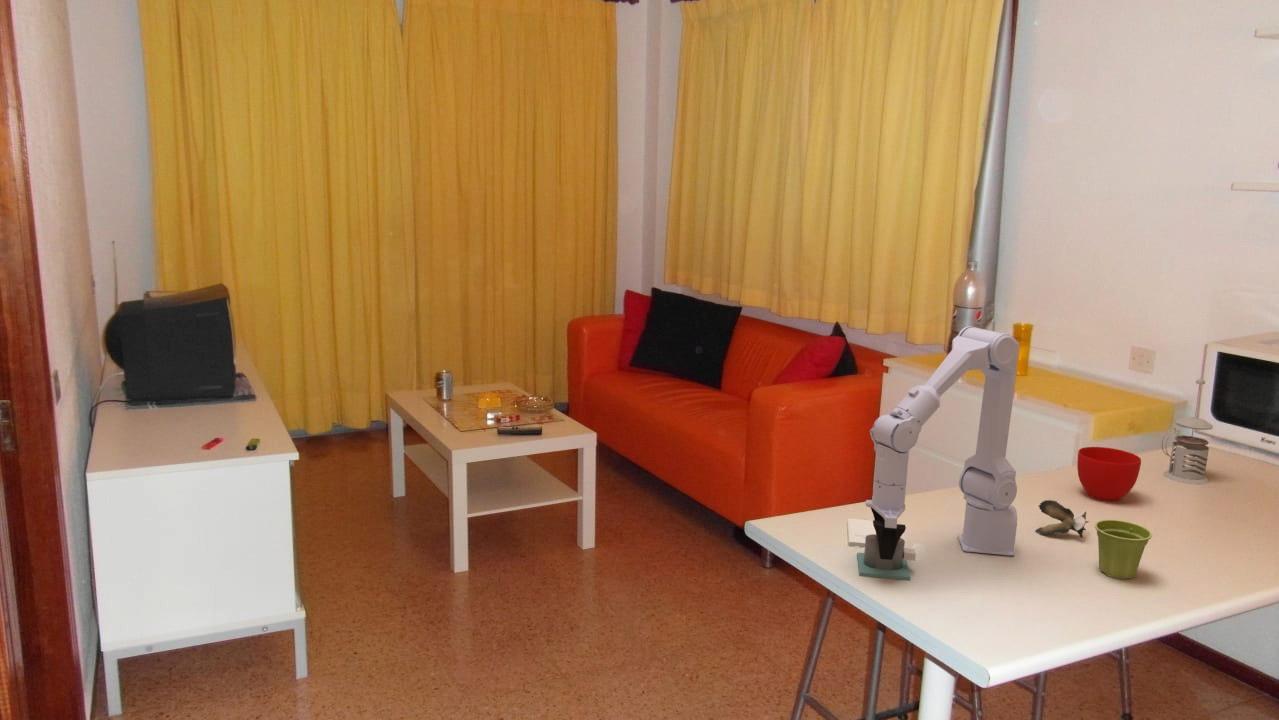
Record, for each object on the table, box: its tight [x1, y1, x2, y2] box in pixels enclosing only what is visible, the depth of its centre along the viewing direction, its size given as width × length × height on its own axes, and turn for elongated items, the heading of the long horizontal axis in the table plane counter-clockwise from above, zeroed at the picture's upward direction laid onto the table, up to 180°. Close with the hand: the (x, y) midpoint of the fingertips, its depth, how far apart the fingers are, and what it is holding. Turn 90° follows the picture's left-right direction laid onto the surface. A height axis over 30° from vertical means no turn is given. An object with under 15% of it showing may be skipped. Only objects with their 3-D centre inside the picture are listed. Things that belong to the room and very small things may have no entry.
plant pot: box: [1094, 519, 1153, 580], centre depth 171 cm, size 9×9×9 cm
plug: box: [863, 534, 916, 570], centre depth 171 cm, size 9×4×5 cm, turn 80°
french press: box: [1160, 378, 1214, 485], centre depth 225 cm, size 10×12×25 cm
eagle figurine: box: [1034, 499, 1089, 539], centre depth 189 cm, size 8×7×9 cm
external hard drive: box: [846, 518, 876, 548], centre depth 186 cm, size 2×8×12 cm
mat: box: [856, 552, 911, 581], centre depth 171 cm, size 9×9×1 cm
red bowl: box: [1076, 446, 1142, 502], centre depth 213 cm, size 13×17×10 cm
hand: (884, 550), depth 171 cm, fingers open, 7 cm apart
